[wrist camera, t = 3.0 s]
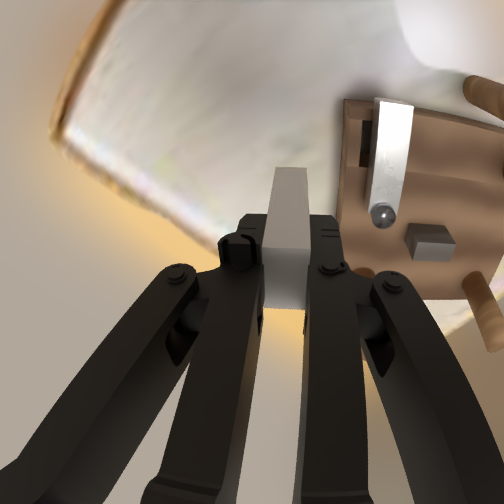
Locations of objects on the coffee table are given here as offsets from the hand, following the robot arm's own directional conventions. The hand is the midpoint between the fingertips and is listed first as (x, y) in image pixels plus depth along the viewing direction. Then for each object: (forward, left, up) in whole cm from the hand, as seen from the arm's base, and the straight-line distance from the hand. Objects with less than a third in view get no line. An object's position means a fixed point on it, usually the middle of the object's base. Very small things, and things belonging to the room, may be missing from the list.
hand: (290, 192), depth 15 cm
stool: (+7, +14, -13) cm, 21 cm away
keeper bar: (+1, +7, -9) cm, 12 cm away
